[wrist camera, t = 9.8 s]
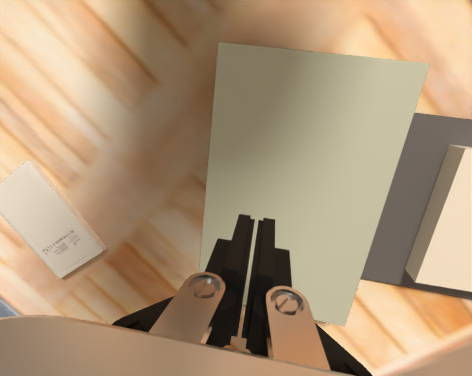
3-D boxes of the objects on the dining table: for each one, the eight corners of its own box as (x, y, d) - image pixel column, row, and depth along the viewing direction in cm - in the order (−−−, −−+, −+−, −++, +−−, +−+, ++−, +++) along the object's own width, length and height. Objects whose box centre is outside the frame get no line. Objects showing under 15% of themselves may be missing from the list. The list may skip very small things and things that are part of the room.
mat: (397, 110, 22) (399, 110, 21) (574, 132, 20) (580, 132, 20) (347, 273, 27) (348, 275, 26) (486, 299, 25) (489, 302, 25)
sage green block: (228, 52, 22) (218, 41, 18) (402, 70, 21) (430, 63, 17) (207, 270, 29) (196, 295, 26) (335, 296, 28) (344, 326, 24)
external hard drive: (39, 157, 29) (110, 245, 31) (-2, 193, 31) (66, 273, 34) (25, 160, 27) (102, 252, 30) (-17, 198, 30) (56, 281, 32)
